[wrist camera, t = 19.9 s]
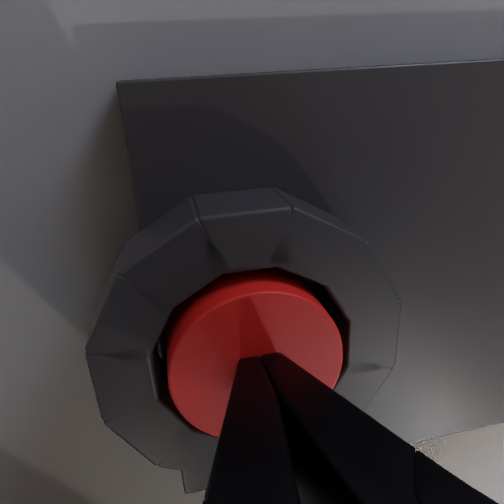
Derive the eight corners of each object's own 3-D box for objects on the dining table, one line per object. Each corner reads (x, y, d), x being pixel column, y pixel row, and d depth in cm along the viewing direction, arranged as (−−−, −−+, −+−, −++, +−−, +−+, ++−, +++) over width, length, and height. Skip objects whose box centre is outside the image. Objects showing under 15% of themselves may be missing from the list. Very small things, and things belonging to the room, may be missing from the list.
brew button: (176, 398, 10) (179, 456, 9) (155, 267, 9) (154, 308, 7) (314, 372, 11) (341, 422, 9) (315, 246, 10) (347, 279, 8)
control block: (141, 477, 13) (138, 565, 10) (53, 84, 8) (14, 86, 6) (660, 365, 16) (744, 413, 14) (793, 41, 11) (949, 32, 9)
